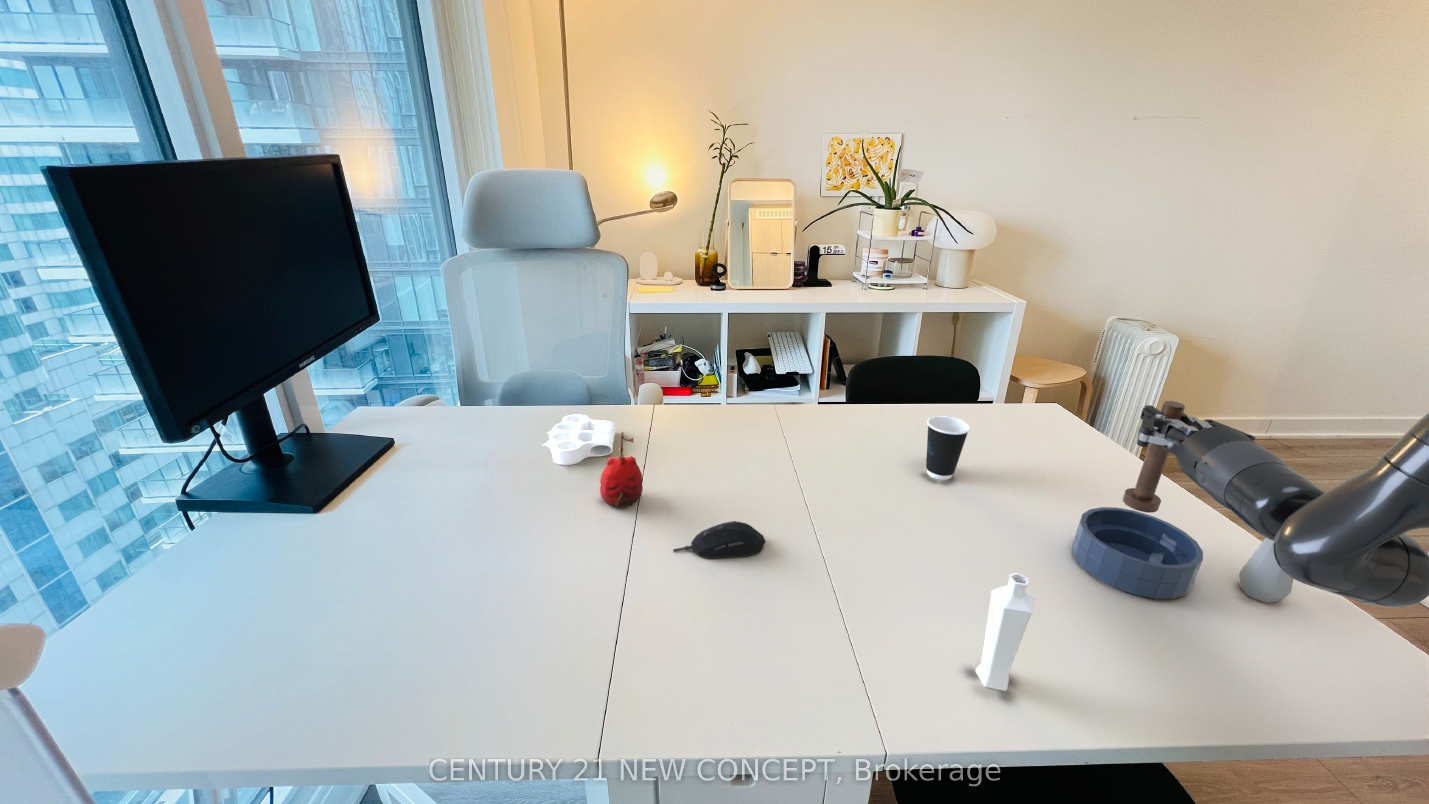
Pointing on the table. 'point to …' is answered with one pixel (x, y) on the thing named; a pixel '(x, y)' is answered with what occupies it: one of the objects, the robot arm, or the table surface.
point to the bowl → (1137, 552)
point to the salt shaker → (1265, 575)
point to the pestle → (1152, 469)
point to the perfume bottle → (1004, 631)
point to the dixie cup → (944, 445)
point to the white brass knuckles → (580, 439)
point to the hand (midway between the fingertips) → (1157, 412)
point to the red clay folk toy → (621, 480)
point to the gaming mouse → (727, 541)
